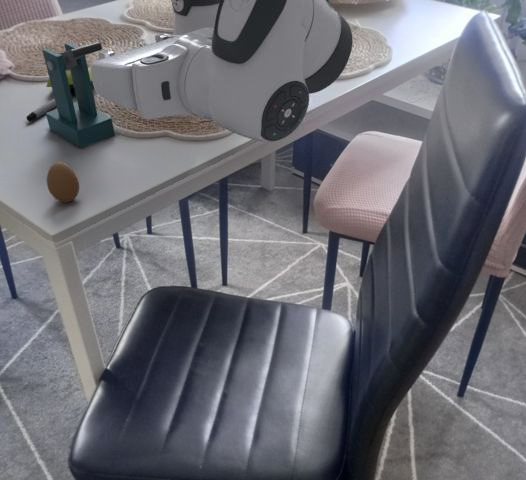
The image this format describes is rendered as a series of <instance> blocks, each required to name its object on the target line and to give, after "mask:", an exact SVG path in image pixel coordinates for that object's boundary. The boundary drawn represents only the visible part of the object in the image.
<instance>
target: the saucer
mask: <svg viewBox="0 0 526 480" xmlns="http://www.w3.org/2000/svg"><path fill="white" fill-rule="evenodd" d="M90 69H91V66H88V71H89V76H90V81H91V82H92V77H91V70H90ZM66 74H67V79H68V83H69V86H74V85H73V80H72V76H71V71H70V69H69V70H66ZM48 78H49V77H48ZM46 88H52V86H51V82H50V78H49V79H48V81H47V83H46Z"/></svg>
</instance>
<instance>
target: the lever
mask: <svg viewBox="0 0 526 480" xmlns="http://www.w3.org/2000/svg"><path fill="white" fill-rule="evenodd" d="M102 49H103V47H102V44H101V42H99V41H96V42H92V43H89V44H86V45H82V46H79V47H78V48H75V49H71V50H68V51H66V50H65V51H62V52H58V54H61V55H62V57H63V61H64V66H65V70H69V69H72V68H74V67H76V66H78V64H77V61H76V60H77V59H79V58H81V57H83V56H85V57H86V55H87V56H88V55H89V54H93V53H98V52H101V51H103V50H102Z"/></svg>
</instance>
